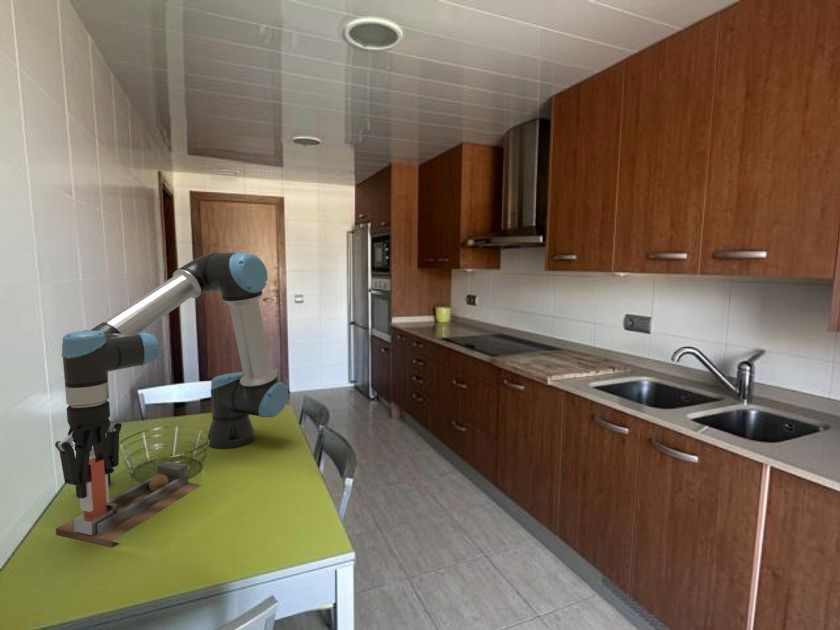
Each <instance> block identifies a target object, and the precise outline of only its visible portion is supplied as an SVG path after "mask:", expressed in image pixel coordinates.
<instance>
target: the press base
mask: <svg viewBox="0 0 840 630" xmlns="http://www.w3.org/2000/svg"><path fill="white" fill-rule="evenodd" d="M156 471H157V473H156V475H158V474H163V475H165V476H167V478H168V480H169V483H168V484H167V485H165V486H163V487H161V488H160V489H158V490H156V491H154V492H153V491H152V490H151V489H150V488H149V482H150V480H151V478H152V477H150V478H147V479H146V480H144V481H143V482H141V483H139V484H137V485H135V486H133V487H131V488H129V489H128V490H127V489H126V490H125V491H123V492H121V493H120V494H118V495H116V496H114V497H112V498H109V502H110V503H115V504H117V513H115V514H114V515H112V516H110V517H108V518H106V519H105V520H103V521H101V522H99V523H98V524H97V533H95V534H94V535H88V534H84V533H79V532H75V530H74V518H72V519H71V520H69V521H68V522H65V523H64V524H61V525H60V526H58V527H56V528H55V536H60V537H63V538H67V539H72V540H77V541H79V542H80V541H81V542H86V543H89V544H94V545H98V546H103V547H106V548H107V547H108V548H111V549H112V548H114V547H116V546H118V545H119V544H120V542H116V541H115V540H117V539H118V538H120V537H122V536H124V534H126V533H128V532H129V531H131V530H132V529H134V528H136V527H137V526H139V525H140V524H143V523H144V522H146V520H149V519H150V518H152V517H153V516H155V515H157V514H158V513H160V512H162V511H163V510H165V509H166V508H168V507H169V506H171V505H172V504H174V503H176V502H177V501H179V500H181V499H182V498H184V497H186V496H187V495H190V493H192V492H194V491H195V490H196V489H198V488H200V487H202V484H198V483H192V482H189V475H188V474H189V473H188V472H189V470H188V464H186V463H185V464H183V463H178V462H171V461H165V462H163V463H161V464H159V465H157V466H156Z"/></svg>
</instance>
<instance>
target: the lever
mask: <svg viewBox="0 0 840 630" xmlns="http://www.w3.org/2000/svg"><path fill="white" fill-rule="evenodd" d="M88 481H90V482H91V483H92V498H93V511H91V512H88V511H83V513H81V514H80V515H78V516H76V517H73V519H74V530H75V532H79V533H84V534H88V535H94V534H95V533H97V524H98V523H99V522H101V521H103V520H105V519H106V518H108V517H110V516H112V515H114V514H115V513H117V504H115V503H110V502H108V503H107V499H106V484H105V469H104V459H99V458H92V459H89V469H88Z"/></svg>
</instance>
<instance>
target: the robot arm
mask: <svg viewBox="0 0 840 630" xmlns="http://www.w3.org/2000/svg"><path fill="white" fill-rule="evenodd" d="M268 275H269V274H268V269H267V268H266V265H265V263H264V262H263V260H262V259H261V258H260V257H258V256H257V255H255V254H254V253H247V252H246V253H245V252H242V251H241V252H240V251H239V252H211V253H206V254H204V255H202V256H198V257H197V258H195V259H192V260H191V261H189V262H188V263H186V264H184V265H182V266H180V268H178V269H176V270H175V271H174V272H173V273H172V277H170V278H169V279H167V280H166V281H165V282H163V283H161V284H160V285H158V286H157V287H155V288H154V289H152V290H150V291H149V292H147V293H146V294H144V295H143V296H141V297H140V298H138V299H137V300H134V301H133V302H132V303H131V304H129V305H127V306H126V307H125V308H122V309H121V310H119V311H118V312H116V313H115V314H114V315H112V316H110V317H109V318H107V319H106V320H104V321H102V322H101V323H99V324H98V325H96V326H95V327H93V328H92V329H91V328H90V330H87V329H86V330H78V331H72V332H68V333H65V335H63V337H62V343H61V350H62V351H61V358H62V364H63V365H62V366H63V378H64V387H65V388H64V389H65V402H66V405H68V406H67V407H66V418H67V421H66V422H67V424H68V426H69V429H68V432H67V436H66V437H65V438H64V439H62V440H57V441H56V442H55V443H54V444H55V445H54V446H55V448H56V449H57V451H58V452H59V457H60V458H59V459H60V462H61V468H62V475H63V480H64V483H65V484H67V485H71V486H75V494H76V498H77V499H79V505H80V506H79V507H80V508H79V509H80V510H81V511H83V512H84V511H88V512H91V511H93V498H92V483H91V482H90V481H88V469H89V457H90V451H91V450H92V446H93V449H94V453H95V458H99V459H104V469H105V484H106V499H107V503H108V502H109V500H110V491H109V487H110V486H111V483H112V481H111V479H112V478H111V474H113V473H114V471H115V469H114V468H116V467H118V466H119V464H120V463H119V462H120V461H119V459H120V455H119V454H120V433H121V429H122V426H123V424H122V423H121V422H111V420H110V416H111V407H110V406H111V405H110V401H109V399H110V389H109V372H114V371H117V370H119V371H120V370H123V369H128V368H133V367H138V366H145V365H147V364H151V363H153V362H155V361H156V360H157V359H158V357H159V355H160V343H159V341H158V339H157V338H156V336H155V335H153V334H152V333H149V332H145V331H146V330H147V329H149V328H150V327H151V326H152V325H155V324H156V323H157V322H159V321H160V320H161V319H162V318H164V317H166V316H167V315H168V314H169V313H171V312H172V311H174V310H175V309H176V308H178V307H179V306H181V305H183V303H185V302H187V300H189V299H191V298H192V299H196V298H198V297H200V296H201V295H202V294H205V293H208V292H212V291H213V292H214V291H215V292H220V295H221V299H222V302H224V303H226V304H228V306H229V311H230V312H229V313H230V316H231V321H232V326H233V330H234V335H235V340H236V344H237V350H238V355H239V360H240V365H241V369H242V371H239V372H238V371H237V372H231V373H224V374H221V375H217V376H214V377H213V378H212V379H211V382H210V398H211V399H210V400H211V419H212V420H211V425H210V427H209V431H208V433H207V438H206V440H210V442H209V445H208V446H209V447H211V448H214V449H232V448H238V447H242V446H246V445H247V444H250V443H252V442H253V441H254V440H255V438H256V431H255V428H254V427H253V423H252V421H251V418H250V416H256V417H260V418H274V417H275V418H276V417H278V415H279V414H280V413H281V412H283V411H284V408H285V405H286V404H287V402H288V399H289V390H288V386H287V385H286V384H285V383H284V382H282V381H279V378H278V374H277V373H278V372H276V370H274V369H272V366H271V361H270V356H269V351H268V345H267V340H266V334H265V327H264V322H263V319H262V313H261V308H260V302H259V300H260V298H261V297H262V296H263V290H264V289H265V288H266V285H267V281H268V277H269V276H268Z"/></svg>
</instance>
